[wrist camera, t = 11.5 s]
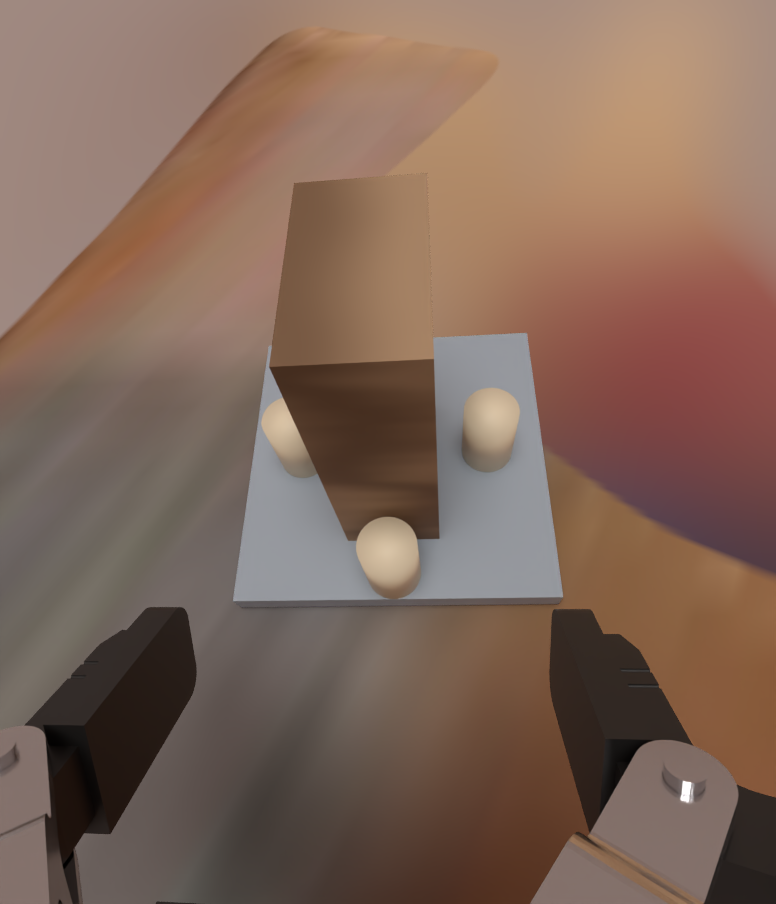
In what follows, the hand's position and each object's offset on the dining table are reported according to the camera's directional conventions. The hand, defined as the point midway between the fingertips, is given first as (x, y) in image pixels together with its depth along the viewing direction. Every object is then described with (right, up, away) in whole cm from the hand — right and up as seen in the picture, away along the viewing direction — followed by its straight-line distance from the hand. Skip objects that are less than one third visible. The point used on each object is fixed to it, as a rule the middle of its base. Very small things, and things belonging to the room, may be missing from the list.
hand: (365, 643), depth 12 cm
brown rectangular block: (+1, +3, +11) cm, 11 cm away
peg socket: (+1, +4, +12) cm, 12 cm away
